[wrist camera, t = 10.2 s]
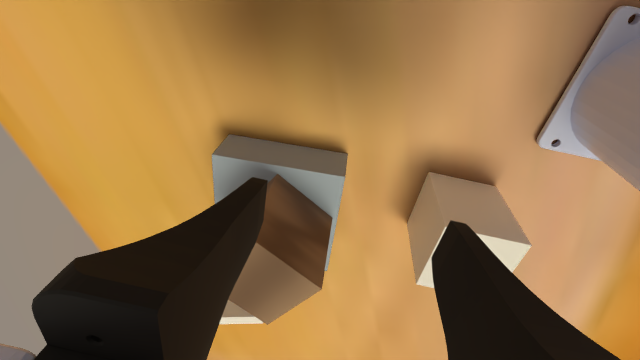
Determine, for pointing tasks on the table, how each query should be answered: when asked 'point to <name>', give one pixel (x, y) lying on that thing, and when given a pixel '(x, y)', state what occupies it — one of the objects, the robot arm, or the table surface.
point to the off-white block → (462, 221)
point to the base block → (282, 171)
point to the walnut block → (284, 254)
